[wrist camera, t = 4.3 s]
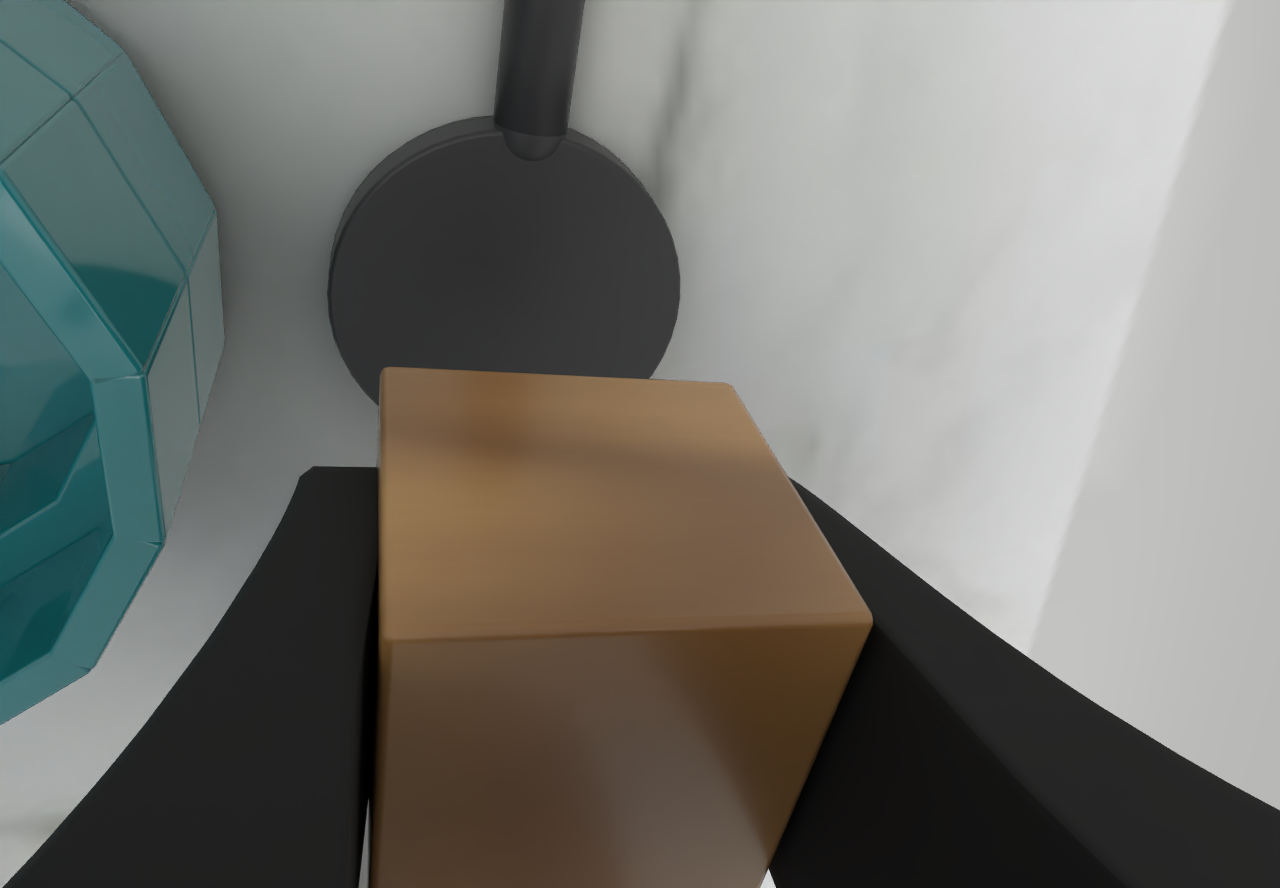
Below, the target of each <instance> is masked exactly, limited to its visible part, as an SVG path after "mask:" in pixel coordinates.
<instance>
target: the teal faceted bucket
mask: <svg viewBox="0 0 1280 888" xmlns="http://www.w3.org/2000/svg"><path fill="white" fill-rule="evenodd" d="M214 208H215V207H214V204H213V202H212V200H211V199H210V197H209V195H208V193H207V192H206V190H205V188H204V186H203V185H202V183H201V181H200V180H199V178H198V176H197V174H196V173H195V171H194V169H193V167H192V166H191V164H190V162H189V161H188V159H187V157H186V155H185V154H184V152H183V150H182V148H181V147H180V145H179V143H178V141H177V140H176V138H175V136H174V135H173V133H172V131H171V129H170V128H169V126H168V124H167V122H166V121H165V119H164V117H163V115H162V114H161V112H160V110H159V109H158V107H157V105H156V103H155V102H154V100H153V98H152V96H151V95H150V93H149V91H148V89H147V88H146V86H145V84H144V83H143V81H142V79H141V77H140V76H139V74H138V72H137V70H136V69H135V67H134V65H133V63H132V62H131V60H130V58H129V57H128V55H127V54H126V53H125V52H123V50H122V48H121V47H120V46H119V45H118V44H117V43H115V42H114V41H113V40H112V39H110V38H109V37H108V36H107V35H106V34H104V33H103V32H102V31H101V30H99V29H98V28H97V27H96V26H95V25H93V24H92V23H91V22H90V21H89V20H87V19H86V18H85V17H84V16H82V15H81V14H80V13H79V12H78V11H76V10H75V9H74V8H73V7H72V6H70V5H69V4H68V3H67V2H65V1H64V0H0V725H1V724H3V723H5V722H6V721H8V720H10V719H11V718H13V717H15V716H17V715H18V714H20V713H22V712H23V711H25V710H27V709H28V708H30V707H32V706H34V705H35V704H37V703H39V702H40V701H42V700H44V699H45V698H47V697H49V696H50V695H52V694H54V693H56V692H57V691H59V690H61V689H62V688H64V687H66V686H67V685H69V684H71V683H73V682H74V681H76V680H78V679H79V678H81V677H83V676H84V675H86V674H88V673H89V672H90V671H91V669H93V668H94V667H95V666H96V665H97V664H98V662H99V660H100V658H101V657H102V655H103V653H104V651H105V650H106V648H107V646H108V644H109V643H110V641H111V639H112V637H113V636H114V634H115V632H116V630H117V628H118V627H119V625H120V623H121V621H122V620H123V618H124V616H125V614H126V613H127V611H128V609H129V607H130V606H131V604H132V602H133V600H134V599H135V597H136V595H137V593H138V592H139V590H140V588H141V586H142V585H143V583H144V581H145V579H146V577H147V576H148V574H149V572H150V570H151V569H152V567H153V565H154V563H155V562H156V560H157V558H158V556H159V555H160V553H161V551H162V549H163V548H164V546H165V543H166V539H167V536H168V533H169V529H170V526H171V523H172V519H173V516H174V513H175V509H176V506H177V503H178V499H179V496H180V493H181V489H182V486H183V483H184V479H185V476H186V473H187V469H188V466H189V463H190V459H191V456H192V453H193V449H194V446H195V443H196V439H197V436H198V432H199V429H200V426H201V422H202V419H203V416H204V412H205V409H206V406H207V402H208V399H209V396H210V392H211V389H212V386H213V382H214V379H215V376H216V372H217V369H218V366H219V362H220V359H221V356H222V352H223V348H224V344H225V339H224V323H223V307H222V291H221V275H220V260H219V244H218V228H217V213H216V211H215V210H214Z"/></svg>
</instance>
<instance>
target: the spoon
mask: <svg viewBox="0 0 1280 888" xmlns="http://www.w3.org/2000/svg"><path fill="white" fill-rule="evenodd" d="M584 2H585V0H505V1H504V11H503V22H502V32H501V43H500V53H499V64H498V74H497V85H496V95H495V106H494V116H488V117H476V118H471V119H466V120H462V121H457V122H452V123H450V124H447V125H444V126H441V127H438V128H435V129H433V130H430V131H428V132H426V133H424V134H422V135H420V136H418V137H416V138H414V139H412V140H410V141H409V142H407V143H406V144H404V145H403V146H401V147H400V148H398V149H397V150H396V151H394V152H393V153H391V154H390V155H389V156H387V157H386V158H385V159H384V160H383V161H382V162H381V163H380V164H379V165H378V166H377V167H376V168H375V169H374V170H373V171H372V172H371V173H370V174H369V175H368V176H367V178H366V179H365V180H364V181H363V183H362V184H361V185H360V186H359V188H358V189H357V190H356V192H355V193H354V195H353V197H352V199H351V200H350V202H349V204H348V206H347V207H346V209H345V211H344V213H343V216H342V218H341V221H340V224H339V226H338V229H337V231H336V235H335V239H334V244H333V248H332V252H331V260H330V268H329V279H328V292H327V296H328V309H329V318H330V323H331V327H332V331H333V336H334V339H335V341H336V344H337V347H338V349H339V352H340V354H341V357H342V359H343V361H344V362H345V364H346V366H347V368H348V370H349V371H350V373H351V375H352V376H353V378H354V379H355V380H356V382H357V383H358V384H359V386H360V387H361V388H362V390H363V391H364V392H365V393H366V394H367V395H368V396H369V397H370V398H371V399H372V400H373V401H374V402H375V403H376V404H377V405H378V406H379V386H380V374H381V372H382V370H383V369H384V368H386V367H390V366H391V367H412V368H432V369H452V370H473V371H493V372H514V373H534V374H554V375H575V376H595V377H616V378H636V379H649V378H650V377H651V376H652V374H653V373H654V371H655V369H656V368H657V366H658V364H659V363H660V361H661V359H662V358H663V356H664V353H665V351H666V349H667V346H668V344H669V342H670V340H671V337H672V333H673V330H674V326H675V323H676V320H677V314H678V308H679V301H680V272H679V264H678V257H677V253H676V250H675V246H674V242H673V239H672V236H671V234H670V231H669V229H668V227H667V224H666V222H665V220H664V218H663V216H662V214H661V213H660V211H659V209H658V208H657V206H656V204H655V203H654V201H653V200H652V198H651V197H650V195H649V194H648V192H647V191H646V189H645V188H644V187H643V185H642V184H641V183H640V181H639V180H638V179H637V178H636V177H635V175H634V174H633V173H632V172H631V170H630V169H629V168H628V167H627V166H626V165H625V164H624V163H622V162H621V161H620V160H619V159H618V158H617V157H616V156H615V155H614V154H613V153H611V152H610V151H609V150H607V149H606V148H604V147H603V146H601V145H600V144H598V143H597V142H595V141H594V140H592V139H590V138H588V137H586V136H584V135H582V134H580V133H578V132H576V131H574V130H572V129H570V128H567V126H568V118H569V111H570V104H571V97H572V89H573V82H574V75H575V67H576V60H577V53H578V46H579V38H580V31H581V24H582V16H583V9H584Z"/></svg>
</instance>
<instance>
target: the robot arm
mask: <svg viewBox="0 0 1280 888" xmlns="http://www.w3.org/2000/svg"><path fill="white" fill-rule="evenodd" d="M788 478H789V477H788ZM789 479H790V481H791V483H792V484H793V486H794V488H795V489H796V491H797V492H798V494H799V496H800V497H801V499H802V501H803V502H804V504H805V506H806V507H807V509H808V510H809V512H810V514H811V515H812V517H813V519H814V520H815V522H816V523H817V525H818V527H819V528H820V530H821V532H822V533H823V535H824V536H825V538H826V540H827V541H828V543H829V545H830V546H831V548H832V550H833V551H834V553H835V554H836V556H837V558H838V559H839V561H840V563H841V564H842V566H843V567H844V569H845V571H846V572H847V574H848V576H849V577H850V579H851V580H852V582H853V584H854V585H855V587H856V589H857V590H858V592H859V594H860V595H861V597H862V598H863V600H864V602H865V603H866V605H867V607H868V608H869V610H870V611H871V613H872V618H873V626H872V628H871V630H870V633H869V635H868V637H867V640H866V642H865V644H864V647H863V649H862V651H861V654H860V656H859V658H858V661H857V663H856V665H855V668H854V670H853V672H852V675H851V677H850V679H849V682H848V684H847V686H846V689H845V691H844V693H843V696H842V698H841V700H840V703H839V705H838V707H837V710H836V712H835V714H834V717H833V719H832V721H831V724H830V726H829V728H828V731H827V733H826V735H825V738H824V740H823V742H822V745H821V747H820V749H819V752H818V754H817V756H816V759H815V761H814V763H813V766H812V768H811V770H810V773H809V775H808V777H807V780H806V782H805V784H804V787H803V789H802V791H801V794H800V796H799V798H798V801H797V803H796V805H795V808H794V810H793V812H792V815H791V817H790V819H789V822H788V824H787V826H786V829H785V831H784V833H783V836H782V838H781V840H780V843H779V845H778V847H777V849H776V852H775V854H774V856H773V859H772V861H771V863H770V866H769V871H770V873H771V876H772V878H773V881H774V884H775V886H776V888H1280V810H1278V809H1276V808H1274V807H1272V806H1270V805H1269V804H1267V803H1265V802H1263V801H1261V800H1259V799H1257V798H1255V797H1254V796H1252V795H1250V794H1248V793H1246V792H1244V791H1242V790H1241V789H1239V788H1237V787H1235V786H1233V785H1231V784H1229V783H1227V782H1226V781H1224V780H1222V779H1221V778H1219V777H1217V776H1215V775H1214V774H1212V773H1210V772H1208V771H1207V770H1205V769H1203V768H1201V767H1200V766H1198V765H1196V764H1194V763H1193V762H1191V761H1189V760H1187V759H1186V758H1184V757H1182V756H1180V755H1179V754H1177V753H1175V752H1174V751H1172V750H1170V749H1169V748H1167V747H1165V746H1164V745H1162V744H1161V743H1159V742H1158V741H1156V740H1154V739H1153V738H1151V737H1149V736H1148V735H1146V734H1144V733H1143V732H1141V731H1140V730H1138V729H1136V728H1134V727H1133V726H1132V725H1130V724H1128V723H1127V722H1125V721H1123V720H1122V719H1120V718H1118V717H1117V716H1115V715H1114V714H1112V713H1110V712H1109V711H1107V710H1105V709H1104V708H1102V707H1100V706H1099V705H1098V704H1096V703H1094V702H1093V701H1091V700H1090V699H1088V698H1087V697H1085V696H1084V695H1082V694H1081V693H1079V692H1078V691H1076V690H1074V689H1073V688H1071V687H1070V686H1069V685H1067V684H1066V683H1064V682H1063V681H1061V680H1059V679H1058V678H1057V677H1055V676H1054V675H1052V674H1051V673H1050V672H1048V671H1047V670H1045V669H1044V668H1042V667H1041V666H1039V665H1038V664H1037V663H1035V662H1034V661H1032V660H1031V659H1030V658H1028V657H1027V656H1025V655H1024V654H1022V653H1021V652H1020V651H1018V650H1017V649H1015V648H1014V647H1012V646H1011V645H1010V644H1008V643H1007V642H1005V641H1004V640H1003V639H1001V638H1000V637H998V636H997V635H995V634H994V633H993V632H991V631H990V630H989V629H987V628H986V627H985V626H983V625H982V624H981V623H979V622H978V621H977V620H975V619H974V618H972V617H971V616H970V615H968V614H967V613H966V612H964V611H963V610H962V609H960V608H959V607H958V606H956V605H955V604H954V603H952V602H951V601H950V600H949V599H947V598H946V597H945V596H943V595H942V594H941V593H939V592H938V591H937V590H935V589H934V588H933V587H932V586H930V585H929V584H928V583H926V582H925V581H924V580H923V579H921V578H920V577H919V576H917V575H916V574H915V573H914V572H912V571H911V570H910V569H908V568H907V567H906V566H905V565H903V564H902V563H901V562H900V561H898V560H897V559H896V558H894V557H893V556H892V555H891V554H889V553H888V552H887V551H886V550H884V549H883V548H882V547H880V546H879V545H878V544H877V543H875V542H874V541H873V540H872V539H870V538H869V537H868V536H867V535H865V534H864V533H863V532H862V531H860V530H859V529H858V528H856V527H855V526H854V525H853V524H851V523H850V522H849V521H848V520H846V519H845V518H844V517H842V516H841V515H840V514H839V513H837V512H836V511H835V510H833V509H832V508H831V507H830V506H828V505H827V504H826V503H824V502H823V501H822V500H820V499H819V498H818V497H816V496H815V495H814V494H812V493H811V492H810V491H808V490H807V489H806V488H804V487H803V486H801V485H800V484H798V483H797V482H795V481H794V480H792V479H791V478H789ZM378 558H379V532H378V467H323V466H313V467H312V468H311V469H309V470H308V471H307V472H305V473H304V474H303V475H301V476H300V477H299V480H298V483H297V486H296V489H295V492H294V494H293V496H292V499H291V501H290V503H289V505H288V507H287V510H286V512H285V514H284V516H283V518H282V520H281V522H280V523H279V525H278V527H277V529H276V531H275V533H274V535H273V537H272V538H271V540H270V542H269V544H268V545H267V547H266V549H265V551H264V552H263V554H262V556H261V558H260V559H259V561H258V563H257V565H256V566H255V568H254V569H253V571H252V573H251V574H250V576H249V577H248V579H247V580H246V582H245V583H244V585H243V587H242V588H241V590H240V591H239V593H238V594H237V596H236V597H235V599H234V601H233V602H232V604H231V605H230V607H229V608H228V610H227V611H226V613H225V615H224V616H223V618H222V619H221V621H220V622H219V624H218V625H217V627H216V628H215V630H214V631H213V633H212V634H211V636H210V637H209V639H208V640H207V641H206V643H205V644H204V646H203V647H202V648H201V650H200V651H199V652H198V654H197V655H196V656H195V658H194V659H193V660H192V662H191V663H190V664H189V666H188V667H187V669H186V670H185V671H184V673H183V674H182V675H181V677H180V678H179V679H178V681H177V682H176V683H175V685H174V686H173V687H172V689H171V690H170V691H169V693H168V694H167V695H166V697H165V698H164V699H163V701H162V702H161V704H160V705H159V706H158V708H157V709H156V710H155V712H154V713H153V714H152V716H151V717H150V718H149V720H148V721H147V722H146V723H145V725H144V726H143V727H142V728H141V730H140V731H139V732H138V733H137V735H136V736H135V737H134V738H133V740H132V741H131V742H130V743H129V745H128V746H127V747H126V748H125V749H124V751H123V752H122V753H121V754H120V756H119V757H118V758H117V759H116V761H115V762H114V763H113V764H112V765H111V767H110V768H109V769H108V770H107V771H106V773H105V774H104V775H103V776H102V777H101V778H100V780H99V781H98V782H97V783H96V784H95V786H94V787H93V788H92V789H91V790H90V791H89V793H88V794H87V795H86V796H85V797H84V798H83V799H82V801H81V802H80V803H79V804H78V805H77V806H76V807H75V809H74V810H73V811H72V812H71V813H70V814H69V815H68V817H67V818H66V819H65V820H64V821H63V822H62V823H61V825H60V826H59V827H58V828H57V829H56V830H55V831H54V833H53V834H52V835H51V836H50V837H49V838H48V839H47V840H46V842H45V843H44V844H43V845H42V846H41V847H40V848H39V849H38V850H37V851H36V853H35V854H34V855H33V856H32V857H31V858H30V859H29V860H28V861H27V862H26V863H25V864H24V865H23V866H22V867H21V869H20V870H19V871H18V872H17V873H16V874H15V875H14V876H13V877H12V878H11V879H10V880H9V881H8V882H7V883H6V884H5V885H4V886H3V888H359V881H360V872H361V863H362V854H363V845H364V836H365V827H366V818H367V808H368V799H369V777H370V753H371V728H372V704H373V680H374V655H375V631H376V607H377V582H378Z"/></svg>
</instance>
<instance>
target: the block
mask: <svg viewBox="0 0 1280 888" xmlns="http://www.w3.org/2000/svg"><path fill="white" fill-rule="evenodd" d="M377 467H378V532H379V558H378V582H377V607H376V631H375V655H374V680H373V704H372V728H371V753H370V777H369V799H368V850H367V888H760V887H761V884H762V882H763V880H764V877H765V875H766V873H767V870H768V868H769V866H770V863H771V861H772V859H773V856H774V854H775V852H776V849H777V847H778V845H779V843H780V840H781V838H782V836H783V833H784V831H785V829H786V826H787V824H788V822H789V819H790V817H791V815H792V812H793V810H794V808H795V805H796V803H797V801H798V798H799V796H800V794H801V791H802V789H803V787H804V784H805V782H806V780H807V777H808V775H809V773H810V770H811V768H812V766H813V763H814V761H815V759H816V756H817V754H818V752H819V749H820V747H821V745H822V742H823V740H824V738H825V735H826V733H827V731H828V728H829V726H830V724H831V721H832V719H833V717H834V714H835V712H836V710H837V707H838V705H839V703H840V700H841V698H842V696H843V693H844V691H845V689H846V686H847V684H848V682H849V679H850V677H851V675H852V672H853V670H854V668H855V665H856V663H857V661H858V658H859V656H860V654H861V651H862V649H863V647H864V644H865V642H866V640H867V637H868V635H869V633H870V630H871V628H872V626H873V618H872V613H871V611H870V610H869V608H868V607H867V605H866V603H865V602H864V600H863V598H862V597H861V595H860V594H859V592H858V590H857V589H856V587H855V585H854V584H853V582H852V580H851V579H850V577H849V576H848V574H847V572H846V571H845V569H844V567H843V566H842V564H841V563H840V561H839V559H838V558H837V556H836V554H835V553H834V551H833V550H832V548H831V546H830V545H829V543H828V541H827V540H826V538H825V536H824V535H823V533H822V532H821V530H820V528H819V527H818V525H817V523H816V522H815V520H814V519H813V517H812V515H811V514H810V512H809V510H808V509H807V507H806V506H805V504H804V502H803V501H802V499H801V497H800V496H799V494H798V492H797V491H796V489H795V488H794V486H793V484H792V483H791V481H790V479H789V478H788V476H787V475H786V473H785V471H784V470H783V468H782V466H781V465H780V463H779V462H778V460H777V458H776V457H775V455H774V453H773V452H772V450H771V448H770V447H769V445H768V444H767V442H766V440H765V439H764V437H763V435H762V434H761V432H760V431H759V429H758V427H757V426H756V424H755V422H754V421H753V419H752V418H751V416H750V414H749V413H748V411H747V409H746V408H745V406H744V404H743V403H742V401H741V400H740V398H739V396H738V395H737V393H736V391H735V390H734V388H733V387H732V386H731V385H729V384H727V383H718V382H697V381H677V380H657V379H636V378H616V377H595V376H575V375H554V374H534V373H514V372H493V371H473V370H452V369H432V368H412V367H391V366H390V367H386V368H384V369H383V370H382V372H381V374H380V386H379V413H378V440H377Z"/></svg>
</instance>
